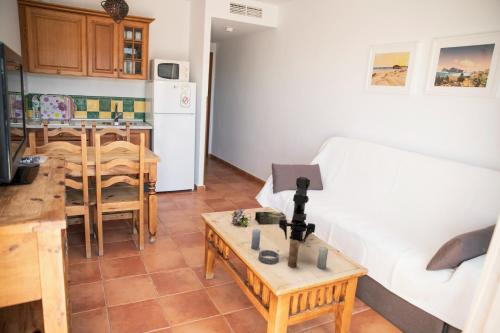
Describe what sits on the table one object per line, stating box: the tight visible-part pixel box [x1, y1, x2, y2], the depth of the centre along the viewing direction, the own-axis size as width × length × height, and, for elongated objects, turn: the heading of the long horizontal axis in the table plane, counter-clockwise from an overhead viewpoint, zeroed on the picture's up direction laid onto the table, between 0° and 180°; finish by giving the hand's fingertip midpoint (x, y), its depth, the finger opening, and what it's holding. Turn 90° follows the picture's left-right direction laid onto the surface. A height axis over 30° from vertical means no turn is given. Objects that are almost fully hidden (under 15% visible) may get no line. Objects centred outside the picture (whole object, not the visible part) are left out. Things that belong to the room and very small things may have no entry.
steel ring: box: [257, 249, 280, 265], centre depth 181 cm, size 10×10×2 cm
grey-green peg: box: [316, 246, 329, 270], centre depth 176 cm, size 4×4×10 cm
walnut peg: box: [287, 239, 300, 269], centre depth 174 cm, size 4×4×13 cm
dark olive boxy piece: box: [254, 211, 288, 225], centre depth 233 cm, size 20×10×6 cm, turn 104°
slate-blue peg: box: [250, 228, 261, 251], centre depth 192 cm, size 4×4×10 cm
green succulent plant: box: [231, 208, 252, 228], centre depth 225 cm, size 11×11×12 cm
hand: (295, 241), depth 178 cm, fingers open, 9 cm apart
